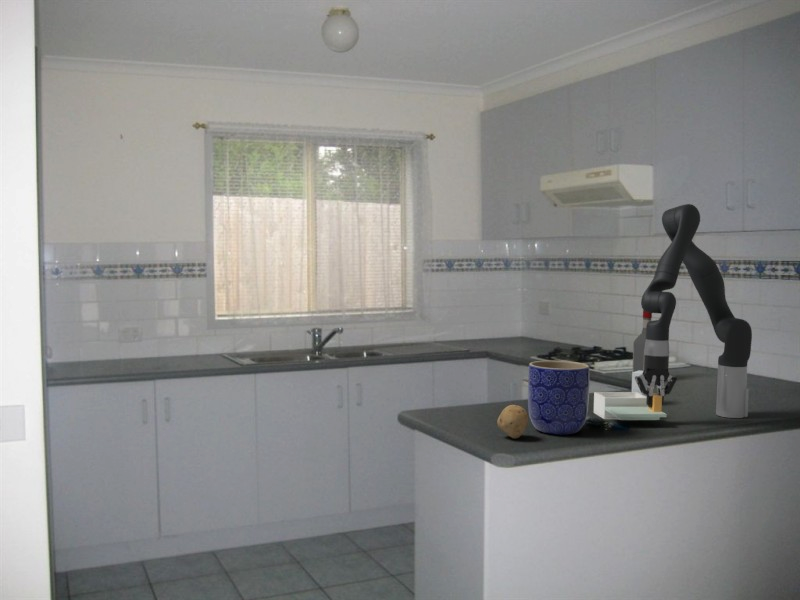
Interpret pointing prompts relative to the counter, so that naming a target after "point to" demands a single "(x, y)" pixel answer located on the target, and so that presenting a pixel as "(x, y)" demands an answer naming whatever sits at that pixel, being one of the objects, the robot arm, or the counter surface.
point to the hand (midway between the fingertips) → (654, 406)
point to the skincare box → (634, 383)
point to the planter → (558, 396)
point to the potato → (513, 421)
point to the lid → (639, 411)
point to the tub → (616, 402)
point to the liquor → (640, 345)
